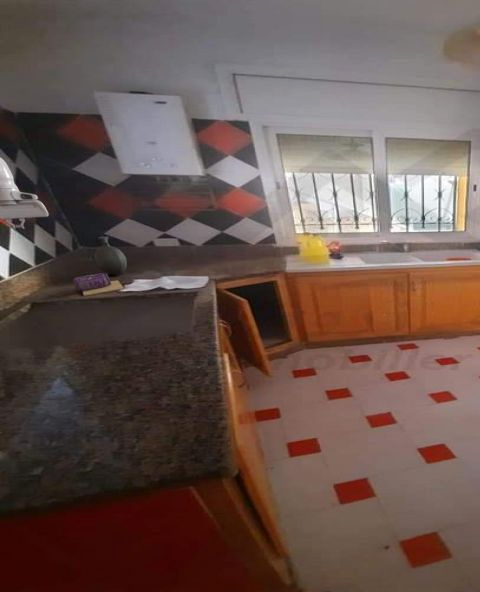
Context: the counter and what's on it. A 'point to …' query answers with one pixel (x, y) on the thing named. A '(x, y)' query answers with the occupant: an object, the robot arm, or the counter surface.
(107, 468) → the counter surface
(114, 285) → the mat
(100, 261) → the flask
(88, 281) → the beverage can
